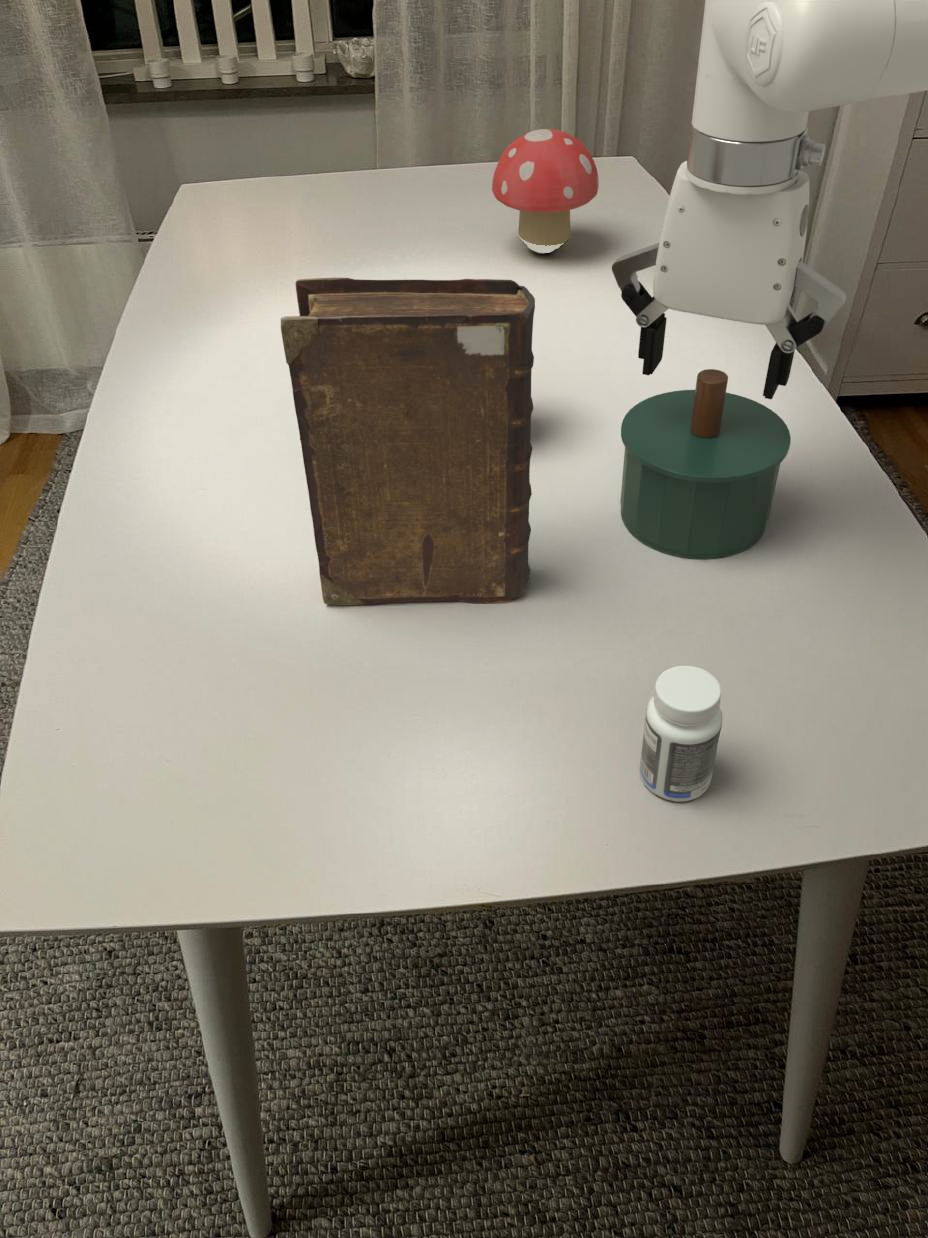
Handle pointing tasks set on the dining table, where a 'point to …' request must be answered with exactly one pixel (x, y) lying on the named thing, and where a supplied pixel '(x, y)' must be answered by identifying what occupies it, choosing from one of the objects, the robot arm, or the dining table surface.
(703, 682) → the pill bottle
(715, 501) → the tin
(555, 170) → the decorative mushroom
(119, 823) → the dining table surface
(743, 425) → the tin lid
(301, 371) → the book
